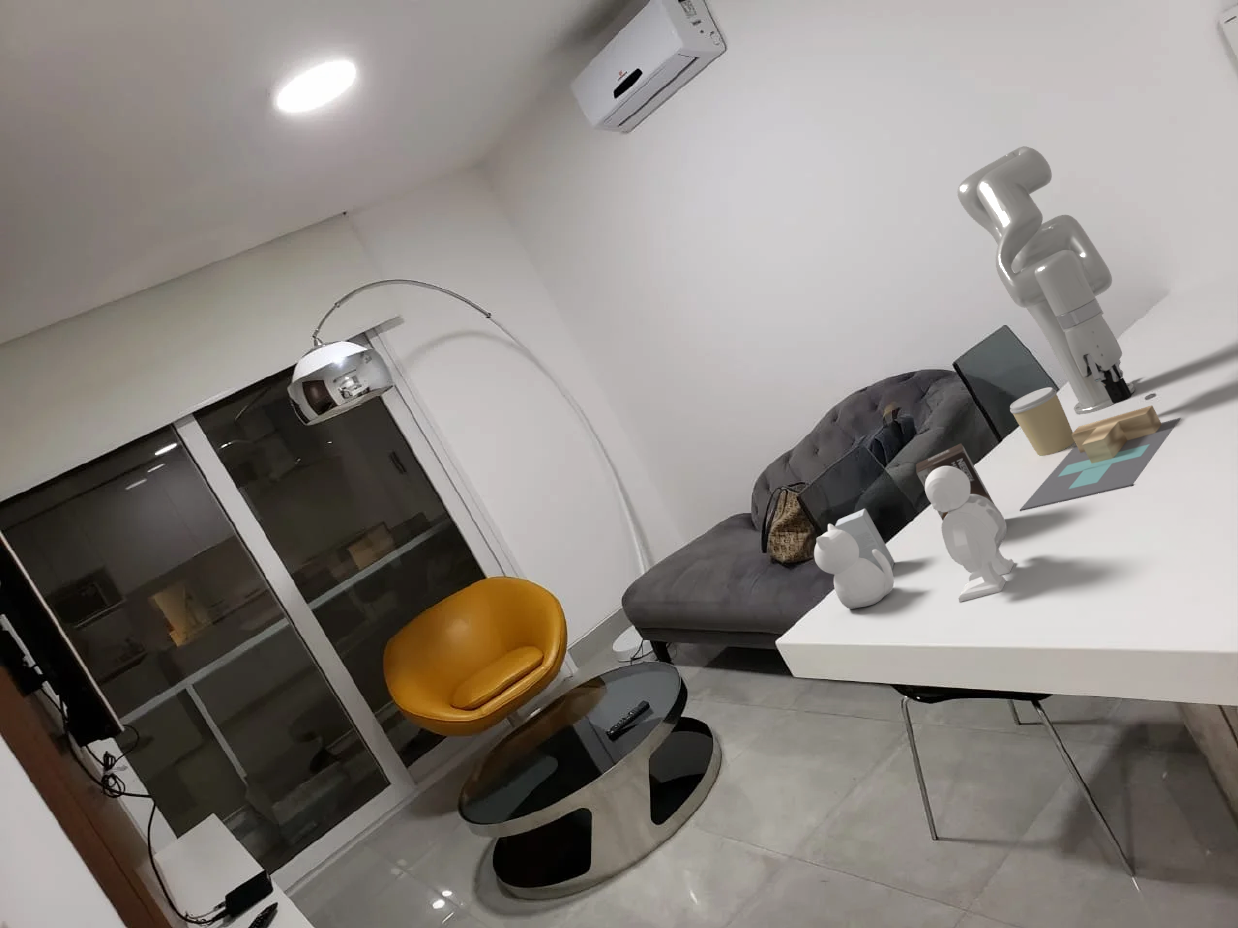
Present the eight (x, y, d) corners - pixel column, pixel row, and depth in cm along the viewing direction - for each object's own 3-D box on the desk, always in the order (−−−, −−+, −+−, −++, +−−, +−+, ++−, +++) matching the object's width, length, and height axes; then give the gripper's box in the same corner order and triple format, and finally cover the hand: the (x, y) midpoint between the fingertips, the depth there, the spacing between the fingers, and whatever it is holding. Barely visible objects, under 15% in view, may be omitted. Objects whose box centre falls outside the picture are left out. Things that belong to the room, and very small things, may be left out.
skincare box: (895, 561, 170) (866, 507, 169) (892, 570, 166) (863, 514, 165) (866, 572, 173) (837, 519, 172) (863, 581, 169) (833, 526, 168)
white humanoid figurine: (977, 567, 147) (922, 461, 145) (1031, 553, 141) (973, 443, 139) (956, 607, 136) (896, 494, 135) (1012, 594, 130) (950, 476, 129)
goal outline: (1068, 466, 169) (1067, 465, 169) (1150, 445, 158) (1149, 444, 157) (1042, 496, 162) (1041, 495, 162) (1127, 477, 150) (1126, 475, 150)
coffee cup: (1069, 435, 187) (1043, 385, 187) (1088, 439, 178) (1061, 387, 177) (1027, 456, 189) (1002, 406, 188) (1044, 461, 180) (1017, 409, 179)
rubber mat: (1075, 447, 178) (1074, 446, 178) (1181, 419, 162) (1180, 417, 162) (1020, 510, 161) (1019, 509, 161) (1133, 485, 145) (1132, 484, 145)
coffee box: (1003, 518, 162) (962, 441, 160) (1006, 529, 156) (965, 449, 154) (954, 538, 165) (914, 463, 164) (956, 550, 159) (915, 471, 158)
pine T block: (1087, 444, 175) (1078, 426, 174) (1161, 424, 164) (1152, 405, 163) (1065, 470, 167) (1056, 451, 167) (1141, 450, 156) (1131, 431, 156)
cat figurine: (850, 596, 165) (813, 526, 164) (911, 579, 157) (872, 505, 156) (834, 620, 158) (795, 547, 157) (897, 603, 150) (856, 526, 149)
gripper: (1075, 312, 179) (1116, 393, 179) (1046, 335, 169) (1090, 419, 170) (1112, 297, 173) (1154, 380, 173) (1084, 319, 163) (1129, 407, 164)
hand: (1122, 399), depth 172 cm, fingers closed
